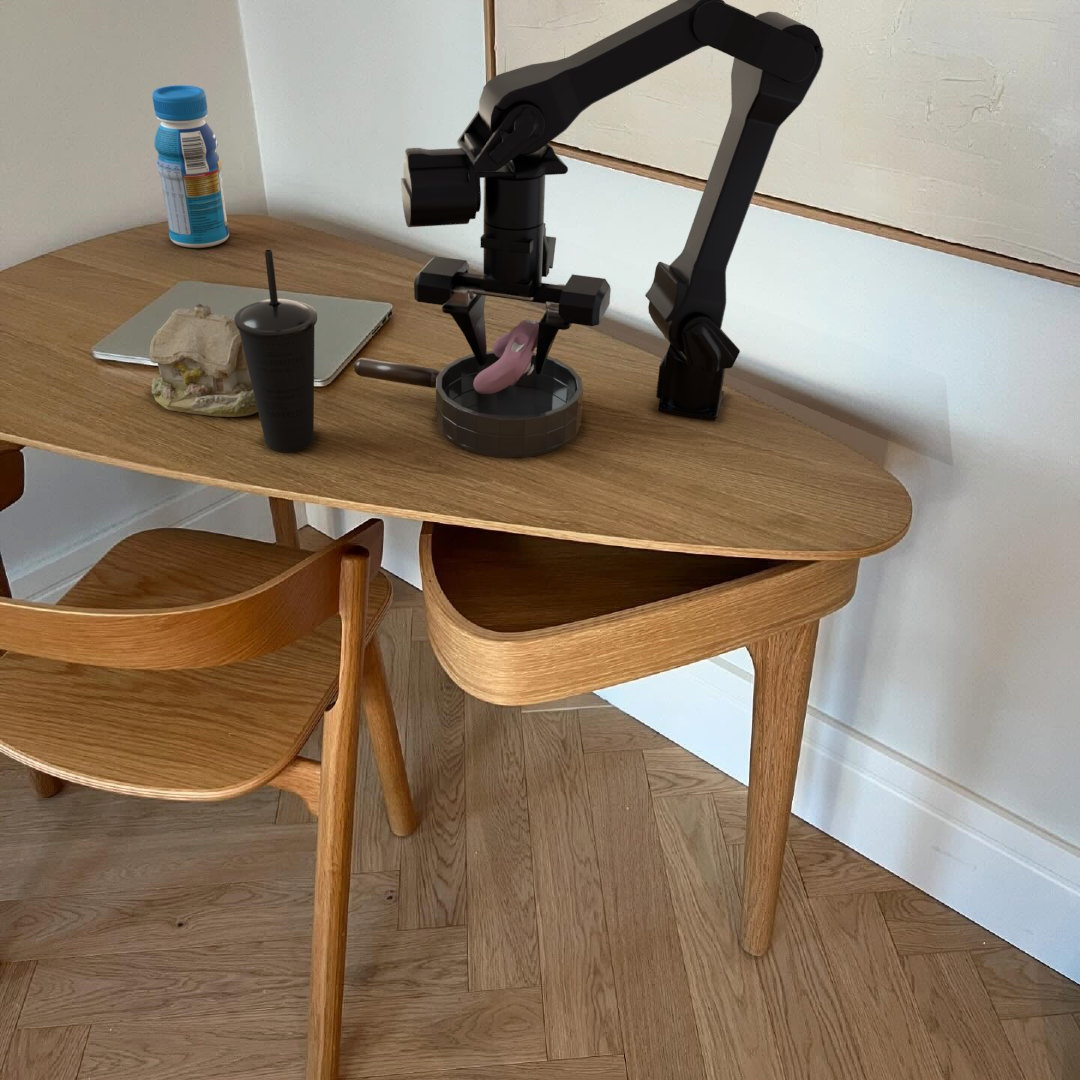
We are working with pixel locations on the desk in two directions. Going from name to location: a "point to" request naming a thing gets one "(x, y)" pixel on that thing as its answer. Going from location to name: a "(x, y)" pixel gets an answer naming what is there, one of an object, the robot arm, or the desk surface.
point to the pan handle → (396, 372)
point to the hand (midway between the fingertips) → (511, 368)
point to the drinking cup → (281, 365)
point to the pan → (509, 409)
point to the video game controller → (509, 358)
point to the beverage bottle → (189, 168)
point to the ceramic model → (201, 365)
